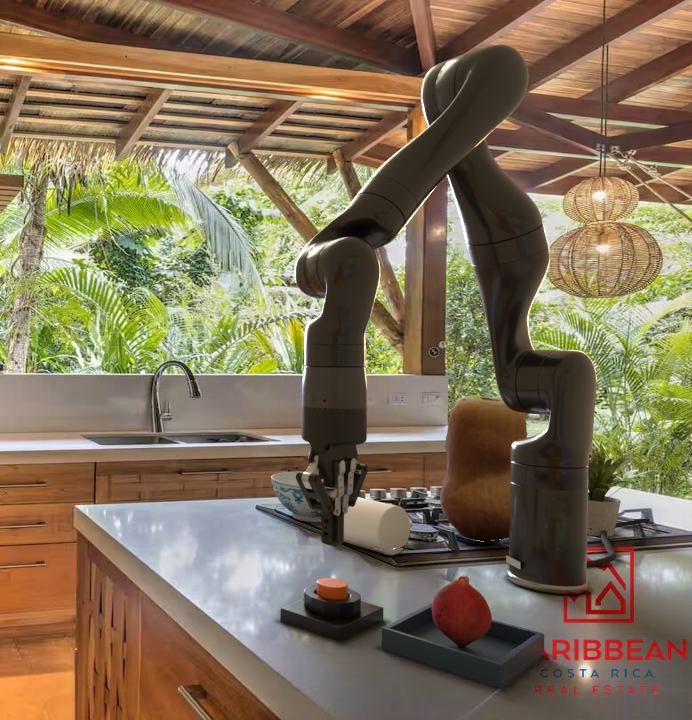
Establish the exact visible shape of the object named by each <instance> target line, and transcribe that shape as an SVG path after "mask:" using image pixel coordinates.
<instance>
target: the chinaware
mask: <svg viewBox="0 0 692 720" xmlns="http://www.w3.org/2000/svg"><path fill="white" fill-rule="evenodd" d="M298 472H299V471H283V472H278V473H274V474H272V475H271V476H270V479H271V485H272V488H273V491H274V493H275V494H274V495H275V496H276V497H277V499H278V501H279V502H280V503H281V505H282V506H283V507H284V508H286V509H287V510H288V511H289V512H291V513H292V518H293V519H295V520H297V521H298V520H299V521H302V522H309V523H321V513H319V512H318V511H316V510H312V509H310V507H309V505H308V503H307V501H306V499H305V497H304V495H303V493H302V490H301V488H300V486H299V484H298V482H297V480H296V474H297V473H298Z"/></svg>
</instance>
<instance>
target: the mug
mask: <svg viewBox="0 0 692 720" xmlns="http://www.w3.org/2000/svg"><path fill="white" fill-rule="evenodd" d="M411 527H413V520H411V518H410V517H409V514H408V512H407V511H406V510H405V509H404V508H403V507H402V506H399V505H396V504H391V503H387V502H381V501H377V500H373V499H369V498H364V497H360V496H358V498H357V501H356V503H355V506H354V507H350V506H349V507H348V512H347V513H346V514H344V542H343V543H346V544H349V545H353V546H355V547H356V546H357V547H360V548H364V549H366V550H370V551H373V552H377V553H380V554H383V555H386V556H395V555H398V554H399V553H401V552H402V551H403V550H404V548H400V547H402V546H404V545H405V546H406V545H407V544H408V542H409V538H410V534H411ZM366 546H367V547H366ZM370 547H372V548H370ZM373 548H377V549H393V548H399V549H394V550H389V551H380V550H376V549H373Z"/></svg>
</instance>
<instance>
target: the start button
mask: <svg viewBox="0 0 692 720" xmlns="http://www.w3.org/2000/svg"><path fill="white" fill-rule="evenodd" d="M316 585H317V595H318V596H320V597H324V598H328V599H337V600H339V599H347V598H348V589H349V584H348V582H347V581H345V580H342V579H338V578H334V577H333V578H332V577H323V578H318V579H317V580H316Z"/></svg>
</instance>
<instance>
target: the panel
mask: <svg viewBox="0 0 692 720" xmlns="http://www.w3.org/2000/svg"><path fill="white" fill-rule="evenodd" d="M303 591H304V592H303V599H300V600H297V601H295V602H292V603H290V604H288V605H286V606H283V607H281V608H280V622H281V623H284V624H287V625H289V626H292V627H295V628H299V629H302V630H305V631H307V632H310V633H313V634H316V635H319V636H322V637H325V638H328V639H331V640H333V641H336V642H339V643H341V642H343V641H346V640H347V639H350V638H351V637H353V636H354V637H355V635H358V634H359V633H362V632H364V631H366V630H368V629H369V628H370V629H371V627H374V626H376V625H377V624H380V623H382V622H384V607H383V606H379V605H376V604H372V603H370V602H367V601H362V599H361V598H362V597H361V596H362V595H361V594H360V593H359V592H357V591H356V590H354V589H352V588H348V598H347V599H339V600H337V599H328V598H324V597H320V596H318V595H317V584H312V585H309V586H307V587H305V588H304V590H303Z"/></svg>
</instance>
